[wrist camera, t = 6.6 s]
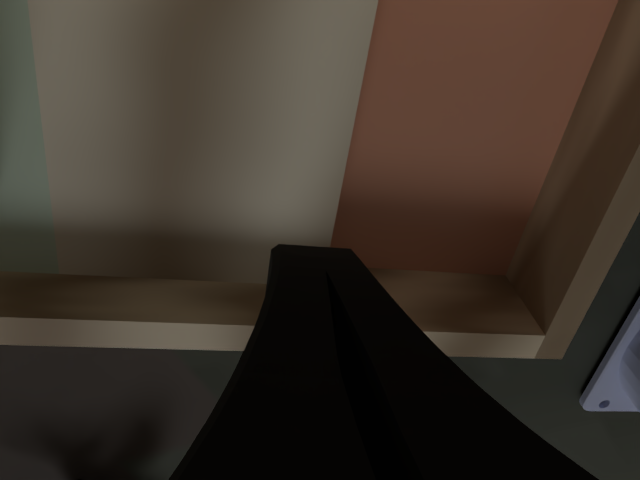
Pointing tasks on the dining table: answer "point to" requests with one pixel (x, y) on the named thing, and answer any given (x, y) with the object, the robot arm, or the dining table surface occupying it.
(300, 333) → the robot arm
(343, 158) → the frame
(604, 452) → the dining table surface
